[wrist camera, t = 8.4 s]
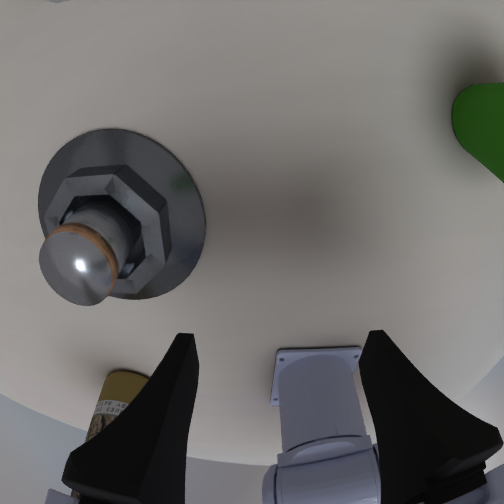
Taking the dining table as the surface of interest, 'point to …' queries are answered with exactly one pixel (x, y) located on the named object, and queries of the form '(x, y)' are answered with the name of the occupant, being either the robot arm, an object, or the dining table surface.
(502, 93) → the cup
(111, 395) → the paper tube
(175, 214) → the flange ring
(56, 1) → the french press
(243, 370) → the dining table surface
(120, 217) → the silver metal canister
